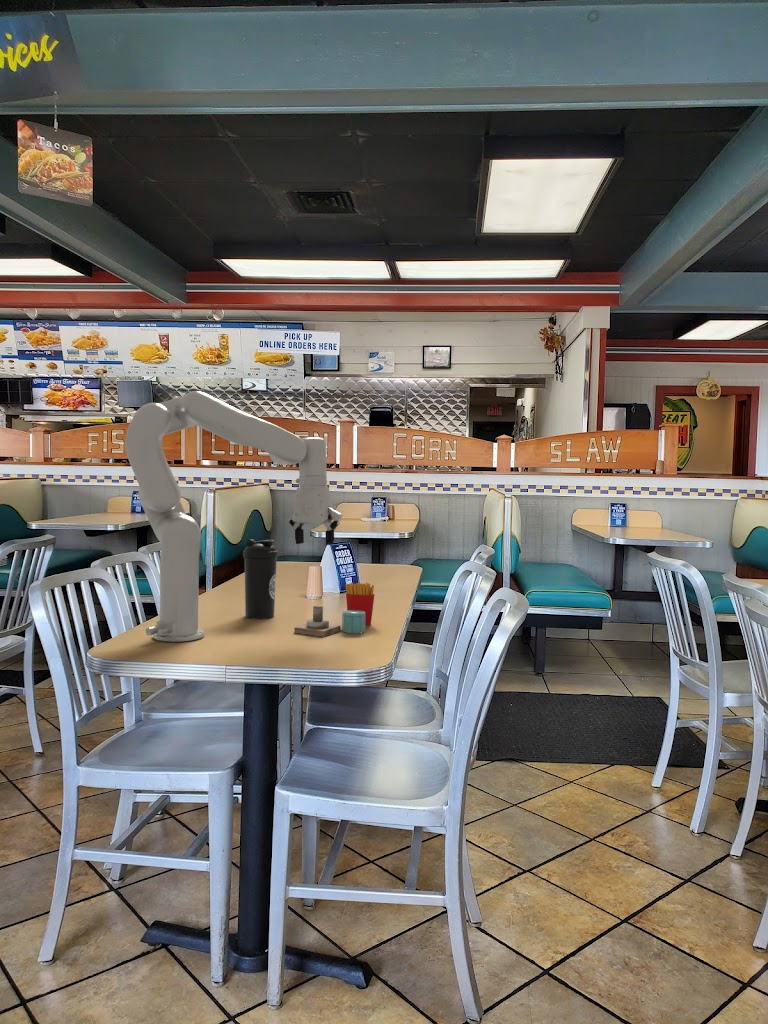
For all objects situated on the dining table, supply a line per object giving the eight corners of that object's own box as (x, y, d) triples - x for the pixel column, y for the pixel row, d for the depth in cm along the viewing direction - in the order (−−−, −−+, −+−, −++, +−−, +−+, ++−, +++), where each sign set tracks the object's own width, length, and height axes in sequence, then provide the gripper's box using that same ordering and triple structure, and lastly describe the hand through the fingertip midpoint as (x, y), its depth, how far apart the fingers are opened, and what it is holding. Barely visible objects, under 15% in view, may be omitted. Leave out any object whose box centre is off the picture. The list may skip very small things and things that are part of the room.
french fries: (374, 623, 205) (375, 582, 204) (372, 626, 201) (373, 584, 201) (345, 622, 206) (346, 581, 206) (342, 624, 202) (343, 583, 202)
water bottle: (273, 619, 207) (274, 541, 206) (239, 619, 208) (240, 540, 207) (279, 613, 217) (280, 538, 217) (246, 612, 218) (247, 538, 217)
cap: (357, 634, 190) (358, 615, 190) (338, 631, 193) (338, 612, 193) (368, 630, 196) (369, 611, 196) (349, 627, 199) (349, 609, 198)
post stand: (322, 637, 186) (323, 610, 186) (294, 633, 190) (294, 607, 190) (340, 631, 194) (340, 605, 194) (312, 627, 198) (313, 602, 198)
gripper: (279, 483, 197) (280, 544, 198) (333, 482, 189) (335, 546, 190) (294, 482, 203) (295, 541, 204) (347, 481, 196) (348, 543, 197)
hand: (314, 544), depth 197 cm, fingers open, 9 cm apart
